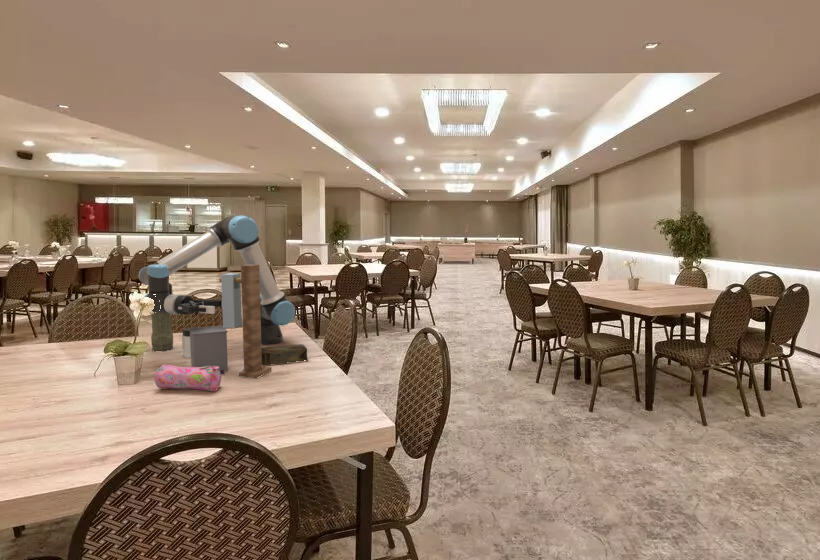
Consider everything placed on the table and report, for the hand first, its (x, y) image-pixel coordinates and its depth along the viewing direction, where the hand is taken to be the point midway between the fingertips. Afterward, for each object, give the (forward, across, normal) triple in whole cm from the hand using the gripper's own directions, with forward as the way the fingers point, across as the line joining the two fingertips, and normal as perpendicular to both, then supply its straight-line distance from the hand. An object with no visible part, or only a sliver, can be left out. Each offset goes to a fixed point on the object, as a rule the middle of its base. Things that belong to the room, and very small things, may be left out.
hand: (225, 307), depth 194 cm
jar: (-29, -16, -26) cm, 42 cm away
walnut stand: (+7, -1, -26) cm, 26 cm away
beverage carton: (+13, -19, -26) cm, 35 cm away
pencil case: (+1, +22, -26) cm, 34 cm away
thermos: (-50, -21, -26) cm, 60 cm away
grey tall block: (+2, -1, -8) cm, 8 cm away
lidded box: (-9, 0, -25) cm, 27 cm away
